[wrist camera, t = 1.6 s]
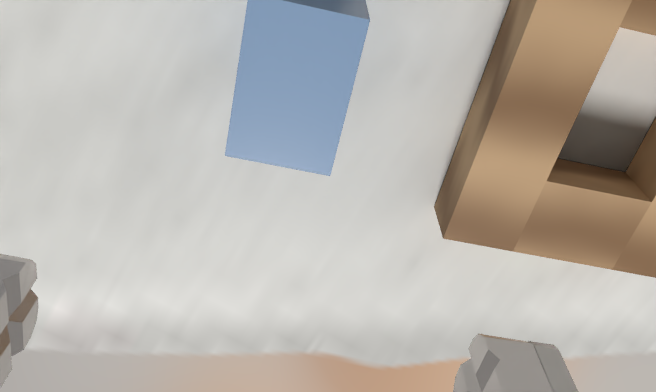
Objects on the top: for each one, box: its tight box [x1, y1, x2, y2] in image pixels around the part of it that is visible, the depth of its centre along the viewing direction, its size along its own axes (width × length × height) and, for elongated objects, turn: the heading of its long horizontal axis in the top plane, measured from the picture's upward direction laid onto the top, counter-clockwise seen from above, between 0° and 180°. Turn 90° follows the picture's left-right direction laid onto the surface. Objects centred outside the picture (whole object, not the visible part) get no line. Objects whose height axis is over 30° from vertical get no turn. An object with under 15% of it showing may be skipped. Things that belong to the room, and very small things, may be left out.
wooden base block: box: [434, 0, 656, 278], centre depth 28 cm, size 16×13×3 cm
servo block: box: [225, 0, 370, 176], centre depth 24 cm, size 9×4×8 cm, turn 168°
